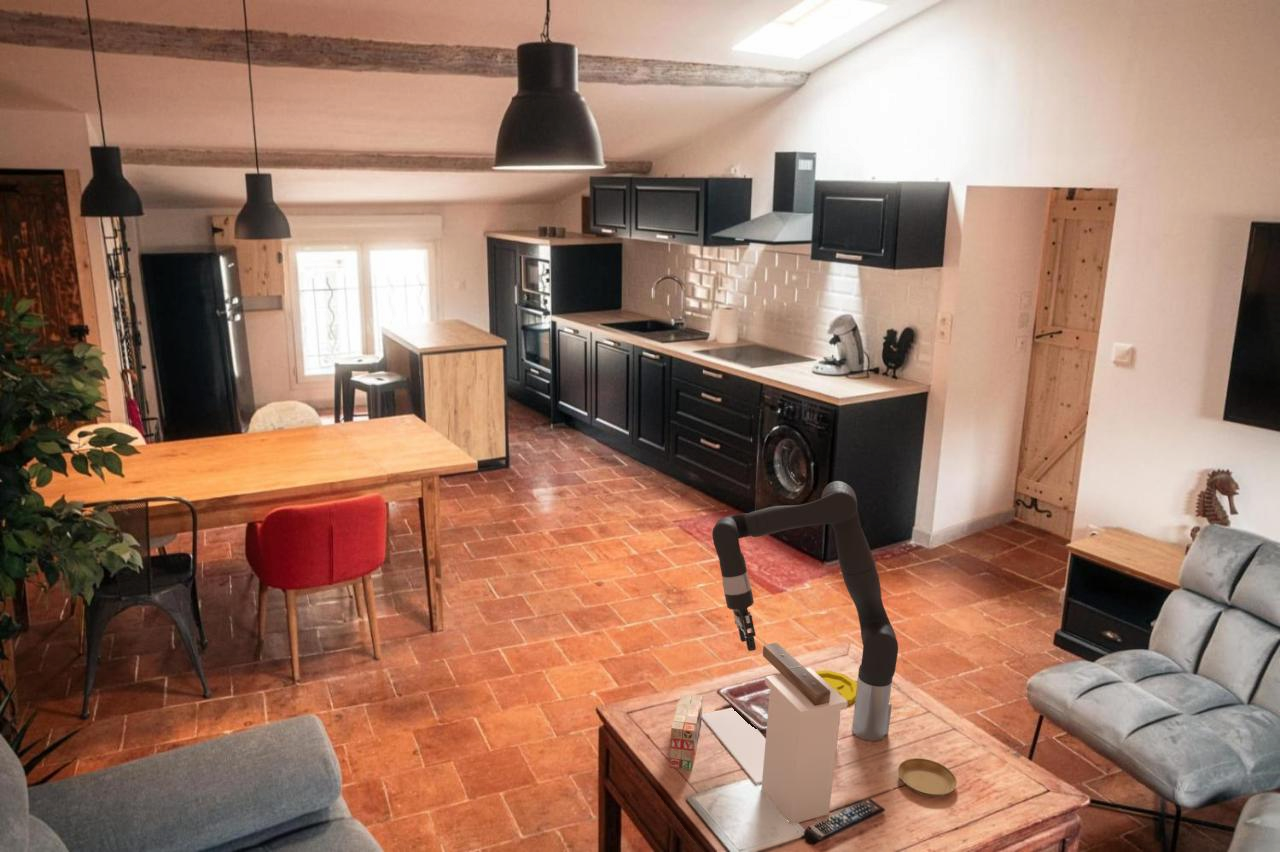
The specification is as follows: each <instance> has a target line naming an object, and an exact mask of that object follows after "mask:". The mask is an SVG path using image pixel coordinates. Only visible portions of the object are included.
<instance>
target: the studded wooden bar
mask: <svg viewBox="0 0 1280 852" xmlns="http://www.w3.org/2000/svg"><path fill="white" fill-rule="evenodd" d="M762 657H764V658H765V660H766V661H767V662H769V664H771V665H772V666H773V667H774V668H775V669H776V670H777V671H778V672H779V674H782V675H783V676H784V677H785V678H786V679H787V680H788V681H790V682H791V683H792V684H793V685H794V686H795V687H796V688H797V689H798V690H799V691H800V692H801V693H802V694H803V695H804V696H805V697H806V698H807V699H808V700H809V701H810V702H811V703H812V704H813V705H815V706H817V705H821V704H825V703H829V701H830V690H828V689H827V688H826V687H825V686H824V685H823V684H822V683H821V682H820V681H819V680H817V679H816V678H815V677H814V676H813V675H812V674H811V673H810V672H809V671H808V670H806V669H805V666H803V664H801V663H800V662H799V661H798V660H797V659H796V658H795V657H793V656H792V655H791V654H790V653H789V652H788V651H787V650H786V649H784V647H782V646H781V645H780V644H779V643H778V642H773V643H769V644H763V647H762Z"/></svg>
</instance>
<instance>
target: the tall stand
mask: <svg viewBox="0 0 1280 852" xmlns="http://www.w3.org/2000/svg"><path fill="white" fill-rule="evenodd" d="M804 668H805V667H804ZM805 669H806V670H808V671H809V672H810V673H811V674H812V675H813V676H814V677H815V678H816V679H817V680H819V681H820V682H821V683H822V684H823V685H824V686H825V687H826V688H827V689H828V690H830V701H829V703H825V704H821V705H817V706H815V705H813V704H812V703H811V702H810V701H809V700H808V699H807V698H806V697H805V696H804V695H803V694H802V693H801V692H800V691H799V690H798V689H797V688H796V687H795V686H794V685H793V684H792V683H791V682H790V681H788V680H787V679H786V678H785V677H784V676H783V675H782V674H781V673H777V674H773V675H767V676H765V678H764V679H765V680H764V685H765V686H766V687H767V688H768V689H769V697H768V698H769V699H768V707H767V709H768V710H767V720H766V733H765V738H766V742H765V754H764V765H763V777H762V783H761V790H762V792H763V793H764V794H765V796H767V797H768V799H769V800H770V801H771V803H772V804H773V803H774V804H773V805H774V806H775V807H776V809H777V810H778V811H779V812H780V813H781V814H782V816H783V817H784V818H785V819H786V821H787V820H788V821H789V822H790V823H789V822H788V821H787V822H788V823H789V824H790V825H791V824H792V825H795V824H799V823H801V822H806V821H809V820H812V819H813V820H814V819H816V818H820V817H823V816H827V815H829V814H830V811H831V810H830V807H831V798H832V791H833V782H834V781H833V780H834V772H835V763H836V755H837V753H836V752H837V745H838V744H837V743H838V738H839V737H838V735H839V726H840V717H841V712H842V711H843V710H846V709H848V705H847V703H848V701H847V700H846V699H845V698H844V697H842V696H841V695H840V694H839V693H838V692H837V691H836V690H835V689H833V688H832V687H831V686H830V685H829V684H828V683H827V682H826V681H825V680H823V679H822V678H821V677H820V676H819V675H818V674H817V673H816V672H815V670H814V669H813V668H811V667H806V668H805ZM794 823H795V824H794Z"/></svg>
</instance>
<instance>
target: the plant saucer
mask: <svg viewBox="0 0 1280 852" xmlns="http://www.w3.org/2000/svg"><path fill="white" fill-rule="evenodd" d="M897 775H898V776H899V779H900V780H901V781H902V782H903V784H905V786H906V787H907V788H909V789H910V790H911V791H913V792H914V793H915V794H918V795H921V796H924V797H928V798H940V797H943V796H946V795H948V794H951V792H954V790H955V789H956V787H957V785H958V781H957V778H956V776H955V774H954V772H953V771H951V770H950V768H948V767H947V766H945V765H943V764H941V763H940V762H937V761H934V760H931V759H928V758H921V757H920V758H919V757H917V758H916V757H914V758H908V759H905V760H904V761H902V762H900V763H899V765H898V767H897Z"/></svg>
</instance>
